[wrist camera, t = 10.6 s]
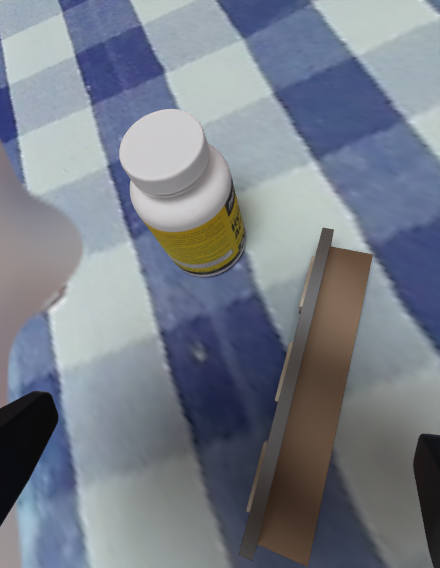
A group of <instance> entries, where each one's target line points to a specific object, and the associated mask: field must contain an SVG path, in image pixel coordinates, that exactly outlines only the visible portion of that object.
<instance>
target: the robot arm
mask: <svg viewBox="0 0 440 568" xmlns="http://www.w3.org/2000/svg"><path fill="white" fill-rule="evenodd" d="M57 422H58V412H57V409H56V406H55V403H54V400H53V397H52V395H51V394H50V393H49V392H44V391H33V392H31V393H29V394H27V395H25V396H23V397H21V398H19V399H17V400H16V401H14V402H12V403H10V404H8V405H6V406H4V407H2V408H0V526H1V525H2V523H3V521H4V520H5V518H6V516H7V515H8V513H9V512H10V510H11V508H12V507H13V505H14V503H15V502H16V500H17V499H18V497H19V495H20V494H21V492H22V490H23V489H24V487H25V485H26V484H27V482H28V480H29V478H30V476H31V475H32V473H33V471H34V469H35V467H36V465H37V463H38V461H39V459H40V457H41V455H42V453H43V451H44V449H45V447H46V445H47V443H48V441H49V439H50V437H51V435H52V433H53V431H54V429H55V427H56V425H57ZM413 468H414V475H415V480H416V485H417V491H418V496H419V501H420V507H421V512H422V517H423V522H424V528H425V533H426V538H427V543H428V548H429V552H430V556H431V559H432V563H433V567H434V568H440V435H433V434H421V435H420V436H419V439H418V443H417V447H416V452H415V456H414V461H413Z"/></svg>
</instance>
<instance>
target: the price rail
mask: <svg viewBox="0 0 440 568" xmlns="http://www.w3.org/2000/svg"><path fill="white" fill-rule="evenodd" d="M333 232H334V230H333V229H328V228H323V229H322V233H321V236H320V240H319V244H318V248H317V252H316V256H312V259H311V263H310V267H309V270H308V274H307V278H306V282H305V286H304V290H303V294H302V297H301V301H300V305H299V314H300V318H299V322H298V326H297V330H296V334H295V338H294V342H293V343H291V342H290V344H289V347H288V351H287V355H286V359H285V363H284V367H283V371H282V374H281V378H280V382H279V386H278V390H277V394H276V398H275V401H276V402H278V404H277V408H276V412H275V416H274V419H273V423H272V427H271V431H270V435H269V439H268V441H267V440H266V441H265V442H264V444H263V448H262V451H261V455H260V459H259V463H258V467H257V471H256V475H255V478H254V482H253V486H252V490H251V494H250V498H249V501H248V505H247V509H246V511H247V512H250V513H249V517H248V521H247V525H246V528H245V532H244V536H243V540H242V544H241V548H240V552H239V555H240V556H243V557H245V558H247V559H249V560H251V561H252V560H253V557H254V553H255V550H256V547H257V544H258V545H260V546H262V547H264V548H267V549H269V550H271V551H273V552H276V553H278V554H280V555H282V556H284V557H287V558H289V559H291V560H293V561H296V562H298V563H300V564H302V565H305V566H307V567H308V564H309V559H310V554H311V550H312V545H313V540H314V535H315V530H316V526H317V521H318V516H319V511H320V506H321V501H322V497H323V492H324V487H325V482H326V477H327V473H328V468H329V463H330V458H331V453H332V448H333V444H334V439H335V434H336V429H337V424H338V420H339V415H340V410H341V405H342V400H343V395H344V391H345V386H346V381H347V376H348V371H349V367H350V362H351V357H352V352H353V347H354V342H355V338H356V333H357V328H358V323H359V318H360V314H361V309H362V304H363V299H364V294H365V290H366V285H367V280H368V275H369V270H370V265H371V261H372V256H373V255H372V254H367V253H362V252H357V251H351V250H346V249H341V248H336V247H330V246H331V242H332V237H333Z"/></svg>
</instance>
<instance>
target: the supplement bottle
mask: <svg viewBox="0 0 440 568" xmlns="http://www.w3.org/2000/svg"><path fill="white" fill-rule="evenodd" d="M119 154H120V161H121V164H122V166H123V168H124V170H125V171H126V173H127V174H128V176H129V177H130V179H131V182H130V196H131V200H132V203H133V206H134V208H135V210H136V212H137V213H138V215H139V216H140V218H141V219H142V220H143V222H144V223H145V224H146V226H147V227H148V228H149V230H150V231H151V232H152V234H153V235H154V236H155V238H156V239H157V240H158V242H159V243H160V244H161V246H162V247H163V248H164V250H165V251H166V252H167V254H168V255H169V256H170V258H171V259H172V260H173V262H174V263H175V264H176V265H177V266H178V267H179V268H180V269H181V270H183V271H184V272H186V273H188V274H190V275H193V276H198V277H210V276H215V275H218V274H220V273H222V272H224V271H226V270H228V269H229V268H230V267H232V266H233V265H234V264H235V263H236V262H237V261H238V259H239V258H240V256H241V254H242V252H243V250H244V246H245V229H244V225H243V220H242V217H241V213H240V209H239V205H238V201H237V198H236V194H235V190H234V186H233V181H232V177H231V173H230V170H229V167H228V164H227V162H226V160H225V159H224V157H223V156H222V154H221V153H220V152H219V151H218V150H217V149H216V148H215V147H213V146H212V145H210V144H209V143H208V142H207V140H206V137H205V134H204V131H203V128H202V126H201V124H200V123H199V121H198V120H197V119H196V118H195V117H194V116H192V115H191V114H189V113H187V112H185V111H181V110H176V109H166V110H160V111H156V112H153V113H151V114H148V115H146V116H144V117H143V118H141V119H140V120H138V121H137V122H136V123H135V124H133V125H132V126H131V127H130V129H129V130H128V131H127V132H126V134H125V136H124V138H123V140H122V142H121V145H120V152H119Z"/></svg>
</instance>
